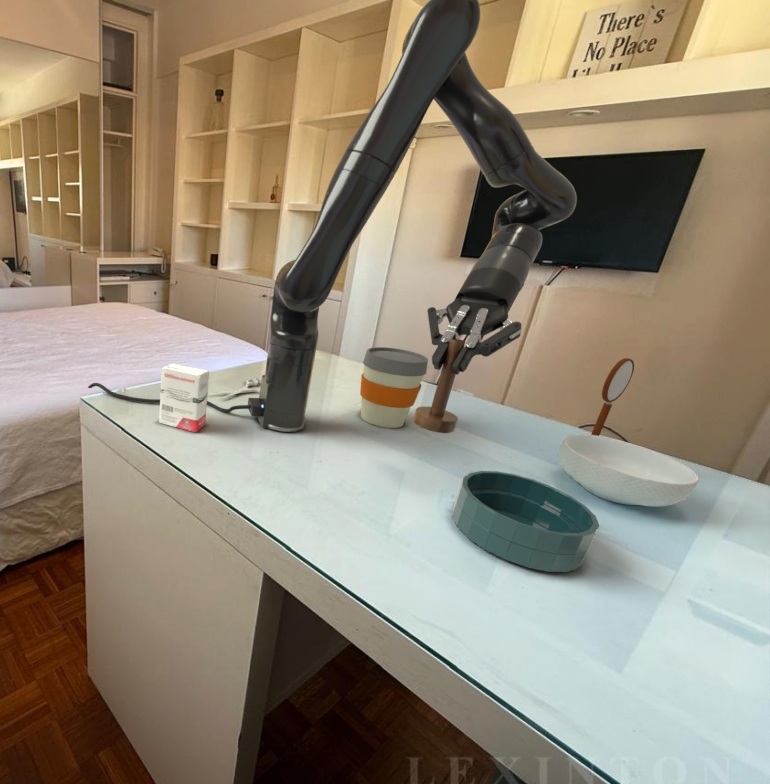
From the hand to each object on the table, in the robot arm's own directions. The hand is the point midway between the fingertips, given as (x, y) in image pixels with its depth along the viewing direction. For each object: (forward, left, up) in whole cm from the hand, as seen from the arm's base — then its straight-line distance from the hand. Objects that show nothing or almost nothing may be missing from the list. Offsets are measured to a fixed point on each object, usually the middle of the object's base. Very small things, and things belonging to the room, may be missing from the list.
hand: (445, 368), depth 68 cm
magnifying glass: (+44, +13, -21) cm, 50 cm away
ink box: (-37, +21, -21) cm, 48 cm away
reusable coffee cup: (+8, +27, -21) cm, 35 cm away
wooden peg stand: (+2, +1, -10) cm, 10 cm away
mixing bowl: (+8, -13, -20) cm, 25 cm away
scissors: (-21, +41, -20) cm, 51 cm away
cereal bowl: (+35, -1, -21) cm, 40 cm away
